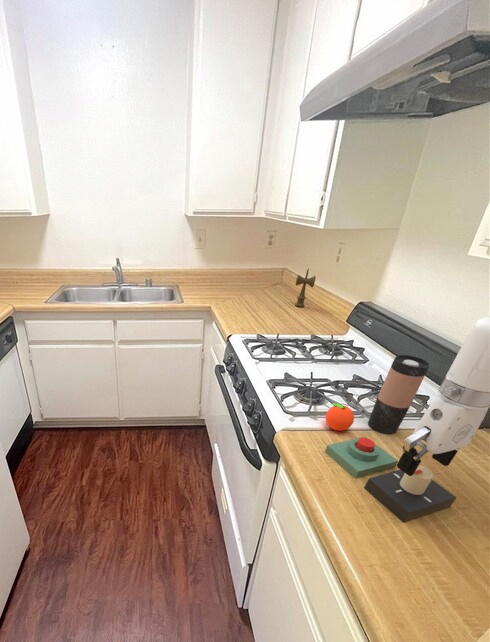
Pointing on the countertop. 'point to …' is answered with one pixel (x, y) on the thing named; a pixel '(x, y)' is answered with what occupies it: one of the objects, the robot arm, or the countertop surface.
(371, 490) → the dial panel
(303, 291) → the kendama
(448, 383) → the robot arm
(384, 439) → the countertop surface
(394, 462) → the button base
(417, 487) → the panel dial knob
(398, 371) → the travel mug
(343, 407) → the clementine
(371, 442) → the red push button
